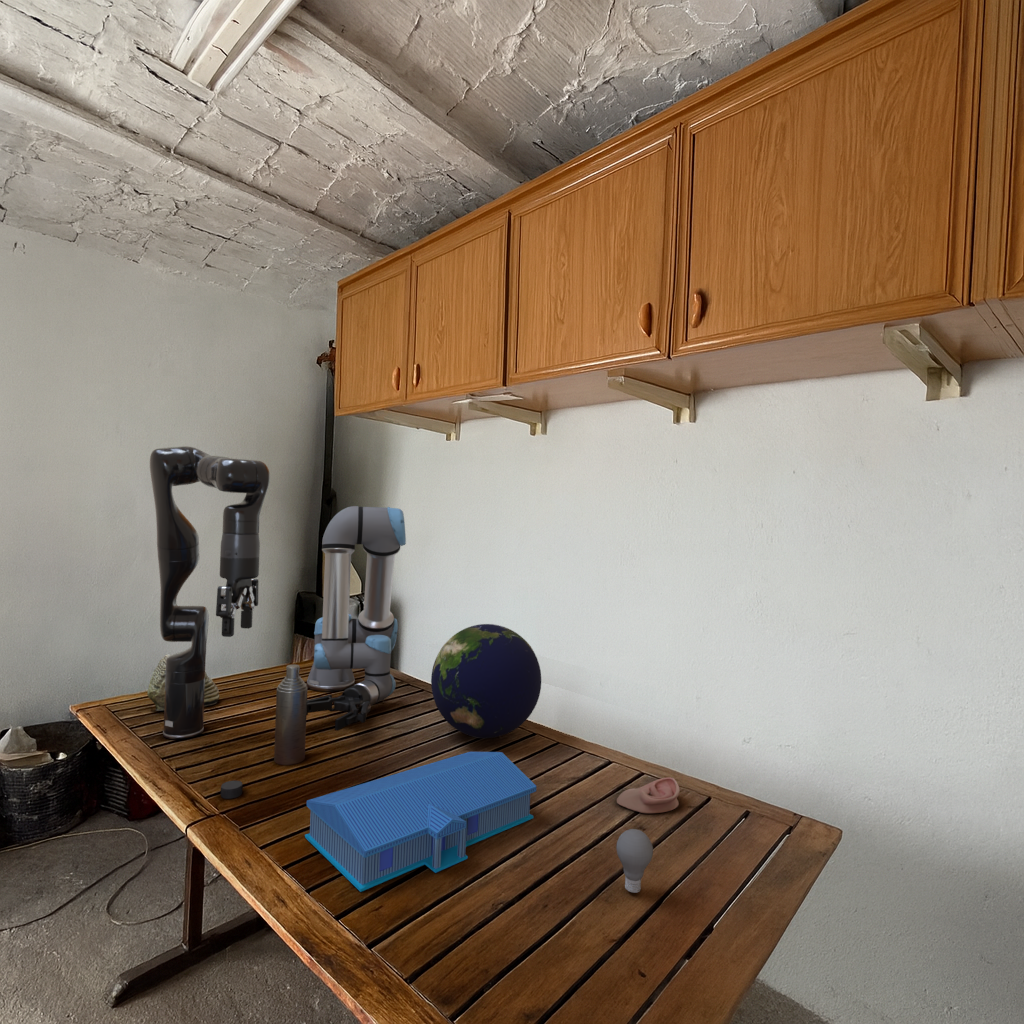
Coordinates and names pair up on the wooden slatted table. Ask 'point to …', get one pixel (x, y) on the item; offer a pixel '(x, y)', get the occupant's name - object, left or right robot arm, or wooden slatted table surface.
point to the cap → (231, 789)
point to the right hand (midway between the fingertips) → (313, 721)
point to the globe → (486, 681)
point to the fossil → (158, 687)
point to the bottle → (290, 718)
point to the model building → (419, 816)
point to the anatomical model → (652, 796)
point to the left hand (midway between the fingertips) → (237, 632)
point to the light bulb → (634, 857)
